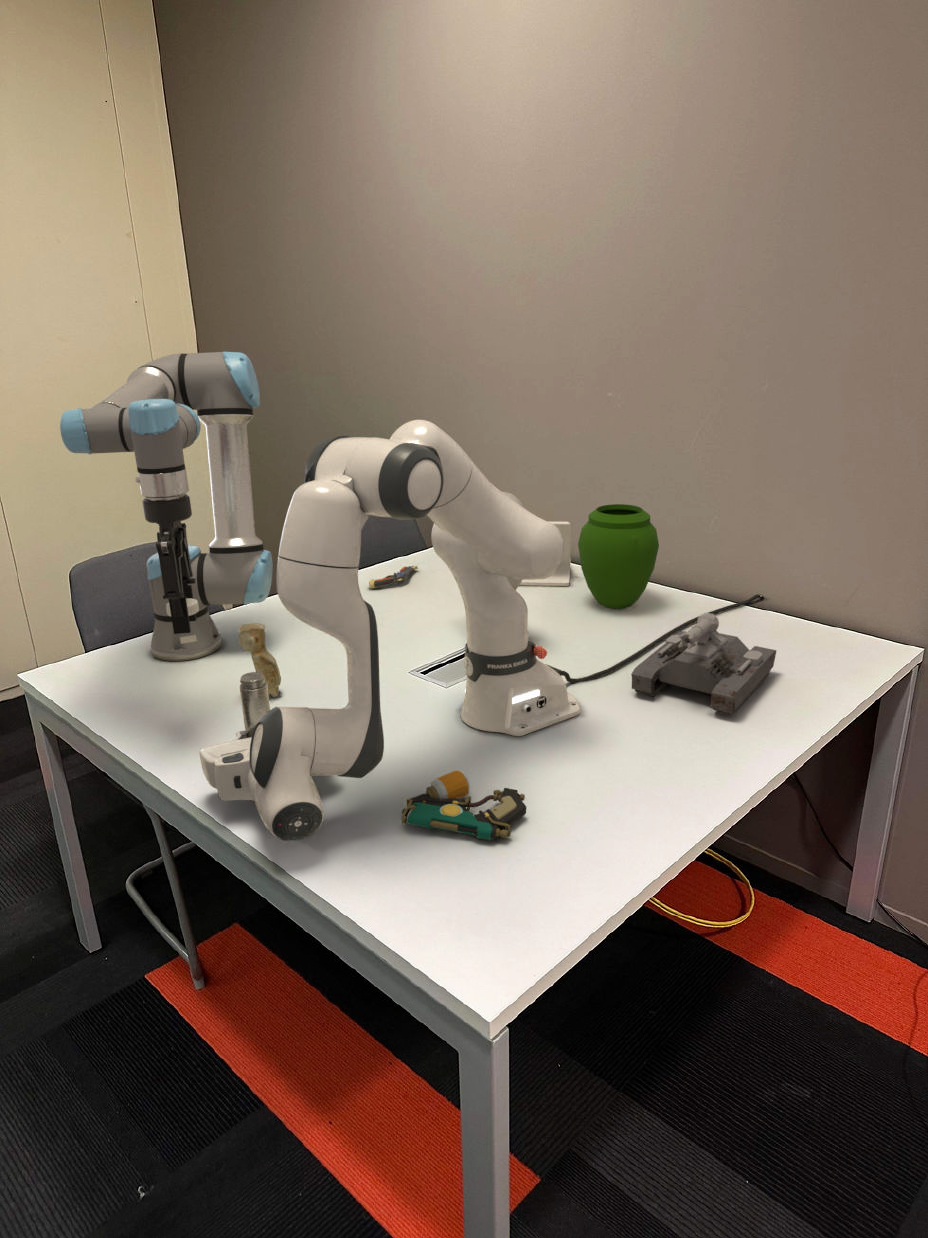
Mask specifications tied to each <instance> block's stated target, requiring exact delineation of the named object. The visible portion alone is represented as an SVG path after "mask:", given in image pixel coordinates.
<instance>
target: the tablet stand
mask: <svg viewBox="0 0 928 1238" xmlns="http://www.w3.org/2000/svg"><path fill="white" fill-rule="evenodd" d="M548 522H549V523H552V524H554V525H555V526H556V527H557V528H558V529H559V531H560V533H561V535H562V538H563V542H564V554H563V558H562V561H561V563H560V565H559V567H558V568H557V570H556V571H555V572H554V573H553V574H552V575H551V576H550V577H548V578H546V579H536V580H522V581H521V582H520V584H519V586H541V587H542V586H543V587H544V586H545V587H546V586H547V587H549V586H551V587H556V586H557V587H569V586H570V580H571V579H570V578H571V565H572V564H571V560H572V558H571V522H569V521H548Z"/></svg>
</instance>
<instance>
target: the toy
mask: <svg viewBox="0 0 928 1238" xmlns="http://www.w3.org/2000/svg"><path fill="white" fill-rule="evenodd" d="M719 626H720V622H719V618H718V617H717V616H716V614H710V613H708V612H704V613H702V614H701V615H699V618H698V620H697V621H696V624H694V626H692V627H691V628H690V629H688V631H686V630H679V631H678V632H676V634H672V635H670V636H669V637H667V638H666V639H665V642H664V643H663V644H662V645H661V646H659V648H657V649H656V650H655V651H653V653H651V654H650V655H648V656H647V658H645V659H644V660H643V661H641V662H640V663H639V664H638V665H637V666H635V667H634V669H633V670H632V672H631V674H630V675H631V690H634V692H636V693H639V694H642V695H646V696H651V697H655V696H656V695H657V694H659V693H660V691H662V690H663V689H664V688H665V687H667V685H670V686H674V687H675V686H676V687H679V688H684V689H687V690H693V691H696V692H701V693H704V694H709V695H710V709H713V710H714V711H718V712H721V713H726V714H729V715H735V714H736V713H737V712H738V710H739V709H740V708H741V707H742V706H743V705H744V704H745V703H746V701H748V699H749V698H750V697H751V696H752V695H753V694H754V693H755V691H756V690H757V689H758V688H759V687H760V686H761V685H762V683H763V682H764V681H765V680H766V679H767V678H768V677H769V675H770V673H771V670H772V669H773V668H774V667H775V666H774V665H775V661H776V655H777V650H776V649H773V648H769V647H768V648H767V647H763V646H757V645H754V646H752V648H751V649H749V647H747V646H746V644H745V643H744V642H743V641H742V640H741V639H740V638H739V636H736V635H731V634H726V633H720V632H719V631H718V628H719Z"/></svg>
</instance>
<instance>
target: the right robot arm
mask: <svg viewBox="0 0 928 1238" xmlns="http://www.w3.org/2000/svg"><path fill="white" fill-rule="evenodd" d="M304 471H305V472H304V478H303V484H300V486H298V487H297V488H296V490H295V491H294V492H293V495H292V497H291V500H290V503H289V505H288V508H287V511H286V516H285V518H284V519H285V520H284V524H283V527H282V531H281V537H280V541H279V547H278V548H279V549H278V556H277V564H276V576H275V577H276V578H275V579H276V583H275V584H276V593H277V596H278V598H279V600H280V601H281V604H282V605H283V607H284V608H285V609H286V610H287V611H288V612H289V613H290V614H291V615H292V616H293V617H295V619H297V620H299V621H300V622H302V623H304V624H306V625H308V626H310V627H311V628H314V629H316V630H318V631H320V632H322V633H324V634H326V635H329V636H330V637H332V638H334V639H336V640H337V641H338V642H340V644H342V646H343V648H344V650H345V653H346V666H347V668H346V669H347V690H348V691H347V694H348V700H347V701H348V702H347V704H346V706H344V707H342V708H322V707H321V708H319V707H317V708H316V707H307V706H306V707H305V706H275V707H273V708H270V711H269V712H267V713H266V714H265V715H264V716H263V717H262V719H261V720H260V721H259V722H258V723H257V725H256V726H255V728H254V731H253V734H252V737H250V738H247V734H246V732H245V729H244V730H240V731H236V732H235V733H236V734H235V735H236V736H235V737H234V738H233V740H232V741H227V742H222V743H218V744H212V745H208V746H204V747H203V748H202V749H200V751H199V759H200V765H201V770H202V773H203V775H204V777H205V779H206V781H207V782H208V784H209V785H210V787H212V788H213V789H215V790H217V794H218V797H219V799H220V800H221V801H225V802H226V801H227V802H228V801H254V804H255V807H256V810H257V812H258V814H259V817H260V819H261V821H262V822H263V824H264V826H265V828H266V829H267V830H268V831H269V833H270V834H271V835H272V836H274V837H275V838H277V839H279V840H281V841H287V842H294V841H301V840H304V839H306V838H309V837H311V836H312V835H314V834H315V833H316V832H317V831H318V830H319V829H320V827H321V826H322V824H323V821H324V807H323V803H322V799H321V796H320V792H319V790H318V787H317V785H316V783H315V781H314V779H313V778H312V777H313V776H314V777H315V776H336V777H342V778H354V779H362V778H364V777H366V776H367V775H368V774H370V773H371V772H372V771H373V770H374V769H375V768H376V767H377V766H378V765H379V764H380V763H381V761H382V760H383V756H384V753H385V737H384V728H383V727H384V726H383V720H382V712H381V711H382V710H381V687H380V685H381V684H380V683H381V681H380V651H379V649H380V648H379V634H378V622H377V618H376V615H375V614H376V613H375V610H374V608H373V606H372V605H371V604H370V603H369V602H367V601H366V600H365V599H364V598H363V595H362V593H361V589H360V584H359V583H360V582H359V566H360V560H361V559H360V558H361V550H362V549H361V546H362V530H363V528H364V526H365V524H366V523H367V521H368V519H369V518H370V517H369V516H372V517H380V518H381V517H382V518H393V519H396V520H398V521H409V520H410V521H411V520H418V519H422V518H424V517H426V516H427V517H428V518H429V519H430V521H432V522H433V525H432V528H431V534H430V535H431V536H430V539H431V545H432V548H433V551H434V553H435V554H436V555H437V557H439V558H440V559H441V560H442V562H444V564H445V565H446V566H447V568H448V569H449V571H450V572H451V575H452V576H453V578H454V581H455V583H456V584H457V587H458V590H459V593H460V596H461V598H462V602H463V606H464V613H465V615H464V616H465V627H466V629H465V630H466V643H465V645H464V671H465V675H466V680H465V681H466V682H465V690H464V698H463V702H462V707H461V710H460V713H459V715H460V719H461V721H462V722H463V723H464V724H466V725H467V726H469V727H471V728H473V729H476V730H479V731H483V732H491V733H502V734H506V735H508V736H509V735H510V736H513V737H523V736H525V735H527V734H530V733H533V732H537V731H539V730H541V729H545V728H546V727H547V728H548V727H549V726H552V725H555V724H558V723H560V722H563V721H566V720H568V719H571V718H574V717H577V716H579V715H581V708H580V707H581V706H580V703H579V702H578V700H577V699H576V698H575V697H574V696H573V695H572V694H571V693H569V691H568V690H567V689H568V688H567V684H566V682H565V680H566V681H567V682H568V683H569V684H578V683H579V684H580V683H584V682H588V681H591V680H594V679H597V678H599V677H603V676H606V675H608V674H610V673H613V672H614V671H616V670H618V669H619V668H621V667H622V666H624V665H626V664H628V663H630V662H631V661H633V660H635V659H636V658H638V657H640V656H642V655H643V654H644V653H646V652H648V651H649V650H651V649H652V648H653V647H655V646H657V645H658V644H659V643H661V642H662V641H664V640H666V639H668V638H669V637H670V636H671V635H675V633H678V632H680V631H681V630H682V629H684V628H687V627H688V626H690V625H692V624H694V623H697V620H698V618H699V616H700V615H699V616H698V615H697V616H696V617H694V618H692V619H689V620H687V621H685V622H683V623H682V624H679V625H678V626H675V627H674V628H673V629H670V630H669V631H668V632H665V633H664V634H663V635H661V636H659V637H658V638H657V639H655V640H653V641H652V642H650V643H649V644H647V645H646V646H644V647H643V648H641V649H640V650H638V651H636V652H635V653H633V654H632V655H629V656H628V657H626V658H625V659H623V660H621V661H619V662H617V663H616V664H614V665H612V666H611V667H608V668H606V669H602V670H600V671H598V672H595V673H593V674H590V675H588V676H584V677H579V678H572V677H571V676H570V673H568V671H565V670H562V669H560V668H557V667H554V666H552V665H549V664H547V663H544V662H543V661H541V660H544V659H546V657H547V656H548V650H547V649H546V648H545V647H543V646H542V645H537V644H536V643H534V642H533V641H531V640H529V627H528V626H529V625H528V623H529V622H528V621H529V620H528V619H529V609H528V606H527V603H526V601H525V598H523V596H522V595H521V594H520V592H518V591H517V589H516V590H515V589H514V588H513V587H512V586H511V584H510V583H509V581H508V579H507V577H510V578H514V579H519V580H536V579H546V578H548V577H550V576H551V575H552V574H553V573H554V572H555V571H556V570H557V568H558V567H559V565H560V563H561V561H562V558H563V554H564V542H563V538H562V535H561V533H560V531H559V529H558V528H557V527H556V526H555V525H554V524H552V523H549V522H550V521H547V520H545V519H543V518H541V517H539V516H537V515H536V514H534V513H532V512H530V511H529V510H528V509H526V508H525V507H524V506H523V507H524V508H523V507H522V506H521V505H519V504H518V503H517V502H515V501H514V500H512V499H511V498H510V497H508V496H507V495H505V494H504V493H503V492H504V491H501V490H500V489H498V488H497V487H496V486H495V485H494V484H493V483H492V482H491V481H490V480H489V479H488V478H487V477H486V476H485V474H484V473H483V472H482V471H481V470H480V469H479V467H478V466H477V465H476V464H475V462H474V461H473V460H472V458H471V457H470V456H469V455H468V454H467V452H466V451H465V450H464V449H463V448H462V447H461V445H460V444H458V442H456V441H455V439H453V438H452V437H451V436H450V435H449V434H448V433H446V432H445V431H444V430H443V429H442V428H440V427H439V426H437V424H435V423H433V422H432V421H429V420H426V419H414V420H410V421H407V422H405V423H403V424H402V425H400V426H399V427H398V428H397V429H395V431H394V432H393V433H392V434H391V436H390V438H383V437H376V436H375V437H369V436H363V437H362V436H355V437H354V436H349V435H336V436H331V437H327V438H325V439H323V440H320V442H318V443H317V444H316V446H315V447H314V448H313V449H312V450H311V453H310V455H309V457H308V459H307V462H306V465H305V470H304ZM759 594H760V593H757V594H755V595H753V596H751V597H749V598H748V599H746V600H742V601H740V602H736V603H731V604H730V605H726V606H722V607H720V608H717V609H714V610H711V611H709V612H707V613H710V614H714V615H717V614H720V613H723V612H726V611H729V610H733V609H736V608H740V607H743V606H746V605H748V604H750V603H752V602H754V601H755V600H757V599H760V600H763V601H764V600H766V598H765V596H763V595H762V597H760V595H761V594H760V595H759ZM563 677H564V678H565V680H564V679H563Z"/></svg>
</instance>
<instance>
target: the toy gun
mask: <svg viewBox="0 0 928 1238" xmlns="http://www.w3.org/2000/svg"><path fill="white" fill-rule="evenodd" d="M418 569H419V566H418V565H409V566H403V567H402V568H401V569H400V570H399V571H397V572H393V574H389V575H387V576H385V577H383V578H379V579H374V578H372V579H370V580H369V581H368V587H369V589H374V588H379V587H384V586H387V585H392V584H394V583H399V582H400V583H401V582H405V581H406V579H408V578H409V577H410V576H411V574H412V573H413V572H415V571H416V570H418Z"/></svg>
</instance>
